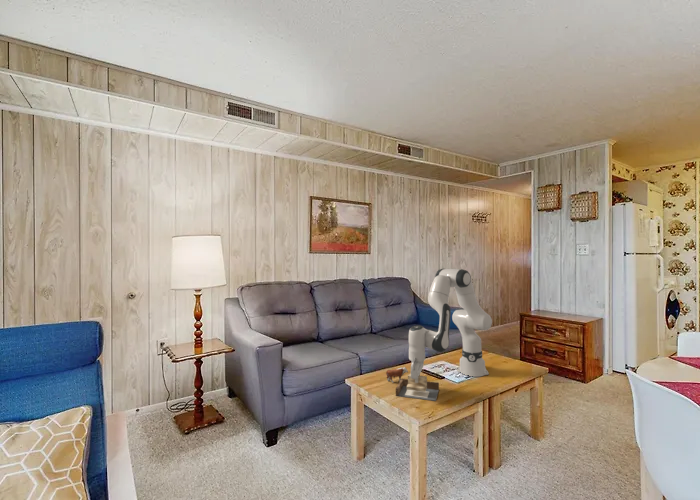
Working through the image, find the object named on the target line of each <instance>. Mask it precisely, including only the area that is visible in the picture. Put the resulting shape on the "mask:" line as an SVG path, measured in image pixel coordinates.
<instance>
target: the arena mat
mask: <svg viewBox="0 0 700 500" xmlns="http://www.w3.org/2000/svg"><path fill="white" fill-rule="evenodd" d="M439 391H440V389H439V390H435V389H426V392H423V391H415V390H407V386H403V387H402V389H401V391H400V393H399V395H398V396H397V395H396V394H395V397H401V398H408V399H415V400H416V399H417V400H423V401H430V402H431V401H432V402H436V401H437V398H438V396H439V395H438V394H439Z"/></svg>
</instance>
